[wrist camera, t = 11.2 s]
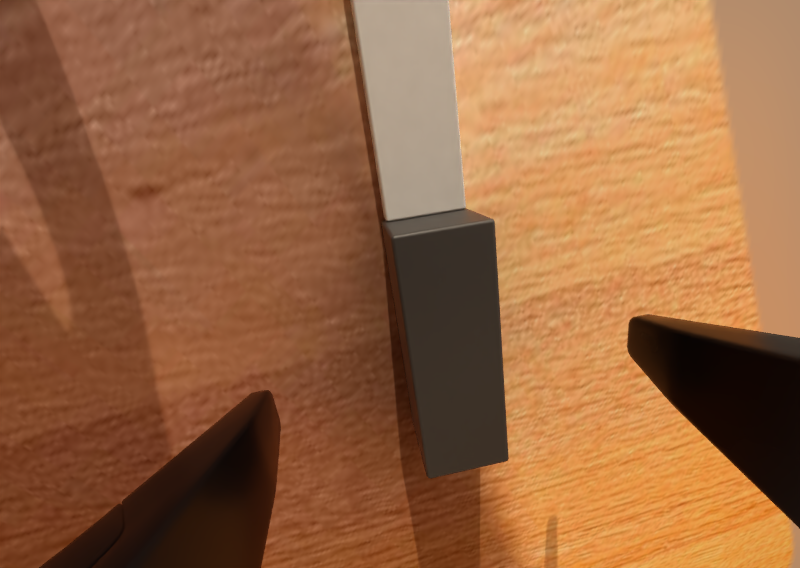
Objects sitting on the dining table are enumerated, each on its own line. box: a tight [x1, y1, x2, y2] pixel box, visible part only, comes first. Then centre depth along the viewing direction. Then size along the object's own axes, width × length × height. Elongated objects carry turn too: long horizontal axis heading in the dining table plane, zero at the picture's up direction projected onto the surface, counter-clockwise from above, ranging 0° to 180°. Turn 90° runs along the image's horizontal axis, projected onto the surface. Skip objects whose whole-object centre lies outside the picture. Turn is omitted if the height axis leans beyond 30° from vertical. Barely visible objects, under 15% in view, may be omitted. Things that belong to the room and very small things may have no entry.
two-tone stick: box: [350, 0, 508, 478], centre depth 9 cm, size 17×2×2 cm, turn 8°
